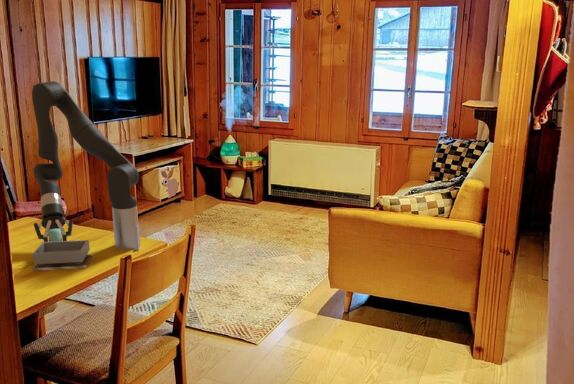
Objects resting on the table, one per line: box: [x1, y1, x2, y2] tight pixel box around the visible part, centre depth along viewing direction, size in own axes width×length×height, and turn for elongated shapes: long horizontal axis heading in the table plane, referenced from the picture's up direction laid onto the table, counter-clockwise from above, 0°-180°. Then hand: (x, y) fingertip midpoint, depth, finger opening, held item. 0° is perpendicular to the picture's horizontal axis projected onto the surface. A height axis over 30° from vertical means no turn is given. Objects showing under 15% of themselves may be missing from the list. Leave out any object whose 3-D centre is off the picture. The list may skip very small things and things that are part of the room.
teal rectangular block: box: [48, 228, 63, 242], centre depth 196 cm, size 4×4×10 cm
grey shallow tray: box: [32, 239, 91, 268], centre depth 186 cm, size 16×12×6 cm
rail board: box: [31, 253, 94, 272], centre depth 187 cm, size 18×12×2 cm, turn 99°
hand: (56, 246), depth 195 cm, fingers open, 5 cm apart
